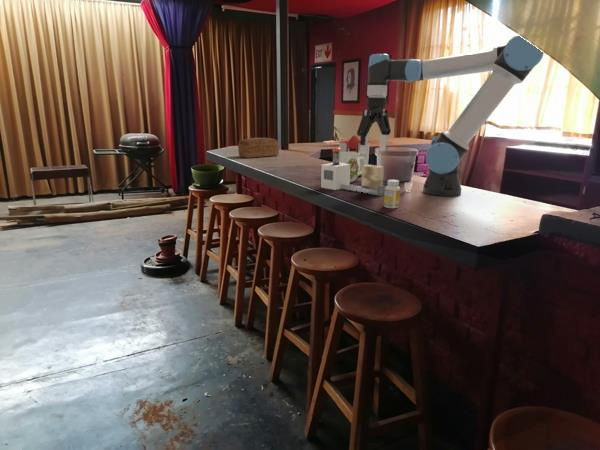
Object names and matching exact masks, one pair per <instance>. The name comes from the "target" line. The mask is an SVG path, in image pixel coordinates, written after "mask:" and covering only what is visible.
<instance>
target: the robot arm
mask: <svg viewBox="0 0 600 450" xmlns="http://www.w3.org/2000/svg"><path fill="white" fill-rule="evenodd" d="M544 54H545V52H544V53H543V52H541V51H540V50H539V49H537V48H536V47H535V46H533V45H532V44H530V43H529V42H527V41H526V40H524V39H523V38H521V37H520V36H518V34H516V35H513V37H512V38H510V39H509V40H508V42H507V43H503V44H499V45H495V46H494V47H493V48H492V49H486V50H479V51H474V52H467V53H461V54H455V55H448V56H447V55H446V56H443V57H442V56H441V57H436V58H429V59H422V60H420V59H414V58H409V59H390V55H389V54H387V53H376V54H375V53H372V54H371V55H369V59H368V67H367V88H366V89H367V91H366V96H368V97H367V98H366V104H365V105H366V108H368V109H364V110H363V111H362V116H361V119H360V123H359V126H358V127H357V131H356V136H357V137H360V138H359V140H360V153H361V154H367V142H368V141H369V139H368V138H369V137H368V136H367V135H368V133H369V132H370V130H371V129H372V128H371V127H372V126H373V124H374V123H376V124H377V126H378V128H379V130H380V133H381V134H379V135H380V136H379V148H378V150H379V151H380V152H386V151H387V143H388V142H387V141H388V140H387V139H388V136H389V135H390V134H391V132H392V131H391V126H390V125H391V124H390V121H389V115H388V114H389V113H388V112H389V110H388V109H384V108H386V106H387V98H386V97H387V96H388V82H394V81H395V82H406V83H409V84H410V83H411V84H412V83H415V82H421V81H425V80H434V79H443V78H449V77H450V78H451V77H455V76H465V75H472V74H478V73H485V72H487V73H488V72H491V73H490V75H489V76H488V77H487V78H486V80H485V81H484V82H483V84H482V85H481V87H480V88H479V89H478V91H477V92H476V93H475V95H474V96H473V97H472V98H471V100H470V101H469V103H468V104H467V105H466V107H464V109H463V111H462V112H461V113H460V115H459V116H458V117H457V118H456V120H454V123H453V124H452V125H451V126H450V128H449V129H447V130H443V131H442V132H441V133H440V134H439V135H435V136H433V137H432V139H431V142H430V145H431V146H430V147H429V148H428V149H427V151H426V153H425V163H426V165H427V167H428V175H427V177H426V179H425V182H424V184H423V185H422V192H423V193H425V194H428V195H431V196H438V197H439V196H440V197H455V196H460V195H461V194H462V186H461V182H460V177H459V172H460V171H459V170H460V163H461V160H462V159H463V158H464V156H465V155H466V153H467V152H468V151H469V150H470V147H469V143H470V142H471V140H472V139H473V138H474V136H476V134H477V133H478V132H479V130H480V129H481V128H482V127H483V125H485V122H487V120H488V119H489V118H490V116H491V115H492V114H493V113H494V112H495V110H496V109H497V108H498V107H499V105H500V104H501V102H502V101H503V100H504V99H505V97H506V96H507V95H508V93H509V92H510V91H511V90H512V88H513V87H514V86H515V85H518V84H521V83H523V81H524V80H525V79H526V78H527V77H528V75H529V74H530V73H531V72H532V70H533V69H534V68H535V67H536V66H537V65H538V64H539V63H540V62H541V61H542V59H543V57H544Z"/></svg>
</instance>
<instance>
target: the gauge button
mask: <svg viewBox="0 0 600 450" xmlns="http://www.w3.org/2000/svg"><path fill="white" fill-rule="evenodd" d="M331 151H332V163H333V165H339V157H340V151H341V148H339V147H332V148H331Z"/></svg>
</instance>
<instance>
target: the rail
mask: <svg viewBox="0 0 600 450" xmlns="http://www.w3.org/2000/svg"><path fill="white" fill-rule="evenodd" d="M385 187H386V186H385V185H383V186H380V187H378V190H371V189H365V188H361V185H355V184H341V189H340V190H347V191H350V190H351V191H350V192H356V191H357V192H356V193H361V192H363V193H362V194H367V193H368V194H369V195H374V196H378V197H381V196H385Z"/></svg>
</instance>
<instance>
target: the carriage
mask: <svg viewBox="0 0 600 450" xmlns="http://www.w3.org/2000/svg"><path fill="white" fill-rule="evenodd" d="M384 169H385V168H384V166H382V165H376V164H375V165H374V164H368V165H365V166H362V175H361V185H360V186H361V188H365V189H371V190H378V187H380V186H384V185H383V184H384Z"/></svg>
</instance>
